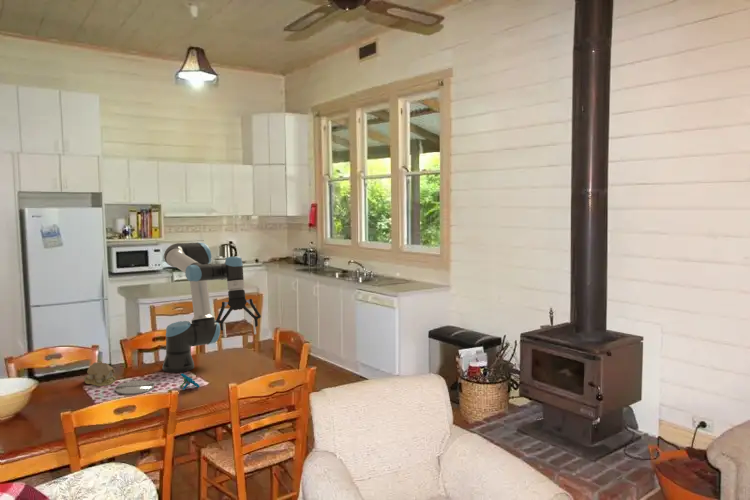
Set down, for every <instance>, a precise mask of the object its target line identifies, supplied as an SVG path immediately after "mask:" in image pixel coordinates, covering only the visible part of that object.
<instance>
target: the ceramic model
mask: <svg viewBox="0 0 750 500" xmlns="http://www.w3.org/2000/svg"><path fill="white" fill-rule="evenodd" d="M86 373H87V374H88V375H87V376H85V377H84V378H83V379H84V380H83V381H84V383H85V384H87V385H93V386H95V387H97V386H98V387H99V386H100V387H103V386H110V385H112V384H113V383H116V380H117V379H116V376H114V373H115V369H114V368H113V367H112V366H111V365H109V364H108V363H107V362H103V361H102V360H99V361H98V362H93V363H92V364H90V365H89V366H88V368H87V371H86Z"/></svg>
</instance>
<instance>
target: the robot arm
mask: <svg viewBox="0 0 750 500" xmlns="http://www.w3.org/2000/svg"><path fill="white" fill-rule="evenodd" d="M211 252H212V251H211V249H210V247H209V245H208V244H206V243H204V242H198V241H197V242H177V243H173V244H171V245H170V246H168V247H167V248H166V249H165V250H164V253H163V259H164V262H165V263H166V264H167V265H168V266H170V267H172V268H177V269H179V270H180V271H181V272H183V273H184V274H185V278H186V280H187V281H188V282H189V283H190V284H189V285H190V292H191V293H190V294H191V301H192V310H193V311H192V313H193V317H192V319H191V322H190V321H189V320H183V321H175V322H173V323H169V325H167V326H166V329H165V330H166V331H165V349H166V351H165V357H164V360H163V364H162V371H163V372H165V373H176V374H177V373H185V372H189V371H191V370H194V369H195V361H194V359H193V357H192V353H191V347H198V346H204V345H210V344H215V343H216V342H218V340H219V338H220V335H221V331H222V333H223V338H227V331H226V330H227V328H226V323H225V321H226V320H227V318H228V317H229V315H230V314H231V313H232V311H237V310H239V311H241V310H244V311H245V312H246V313H247V314H248V315H249V316H250V317H252V318H253V320H252V326H253V334H254V335H257V327H258V326H259V322H258V321H259V320H258V319H260V318H262V315H261V314H260V312H259V310H258V309H257V307H256V306H255V304H254V301H253V299H252V298H249V299H246V291H245V280H244V269H243V268H244V267H243V266H244V263H243V260H242V257H241V256H236V255H235V256H228V257H226V258H225V262H224V263H211V262H212V253H211ZM217 280H220V281H223V280H224V281H225V280H226V282H227V284H226V285H227V290H228V292H227V294H228V301H222V302H221V307H220V310H219V312H218V314H217V317H216V319H215V316H214V315H213V314H212V310H211V303H210V302H211V301H210V295H209V286H208V281H217ZM247 303H248V304H249V305H250V306H251V308H252V309H253V311H254V313H253V312H252V311H251V310H250V309H249V308H248V307H247V306H246V304H247ZM227 306H229V309H228V310H227V311H226V313H225V314H224V315H223V313H224V311H225V308H226V307H227ZM222 315H223V317H222Z"/></svg>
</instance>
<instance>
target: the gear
mask: <svg viewBox="0 0 750 500" xmlns="http://www.w3.org/2000/svg"><path fill="white" fill-rule="evenodd" d="M180 376H181V377H182V379H183V382H182V384H181V385H180V388H182V391H185V389H186V388H187V387H188V385H189V386H190V384H192V385H193V386H194V387H196V388H200V387H201V386H200V385H199V384H198V382H196V381H195V380H193V378H192V377H190V376H188V375H187V374H184V373H180Z"/></svg>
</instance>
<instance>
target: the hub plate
mask: <svg viewBox="0 0 750 500" xmlns="http://www.w3.org/2000/svg"><path fill="white" fill-rule="evenodd" d="M154 388H155V383H154V382H153V381H150V380H132V381H125V382H122V383H120V384H118V385H116V386H115V393H116V394H119V395H124V396H126V395H127V396H128V395H131V394H133V395H139V394H138V393H141V394H144V393H148V392H150V390H151V391H153V389H154ZM147 391H148V392H147Z"/></svg>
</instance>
